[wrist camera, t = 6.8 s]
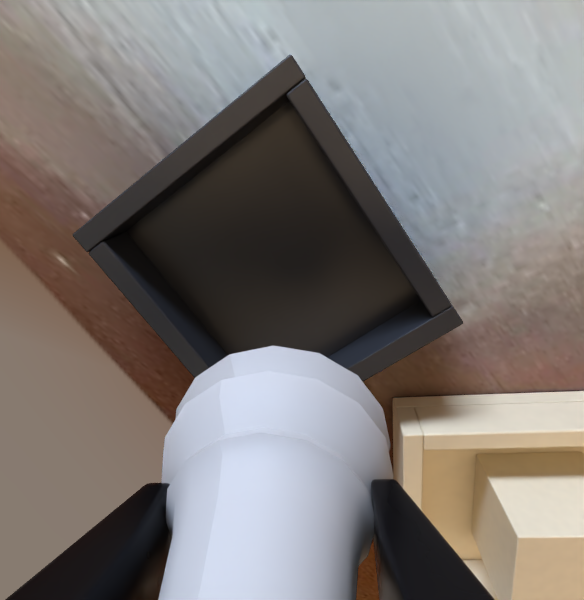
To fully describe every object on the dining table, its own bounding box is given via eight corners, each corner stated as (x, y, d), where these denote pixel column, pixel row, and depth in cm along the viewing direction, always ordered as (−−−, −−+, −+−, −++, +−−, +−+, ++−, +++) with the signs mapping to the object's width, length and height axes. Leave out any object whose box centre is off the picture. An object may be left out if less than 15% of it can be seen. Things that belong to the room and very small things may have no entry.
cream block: (471, 531, 21) (508, 627, 17) (475, 453, 20) (518, 537, 15) (569, 530, 21) (632, 628, 16) (581, 451, 19) (654, 536, 15)
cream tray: (393, 557, 23) (403, 610, 20) (392, 397, 20) (403, 435, 17) (628, 556, 22) (671, 612, 19) (665, 387, 19) (721, 426, 16)
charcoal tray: (443, 298, 18) (464, 323, 16) (260, 407, 21) (251, 445, 18) (296, 69, 16) (291, 53, 13) (107, 222, 18) (70, 234, 16)
